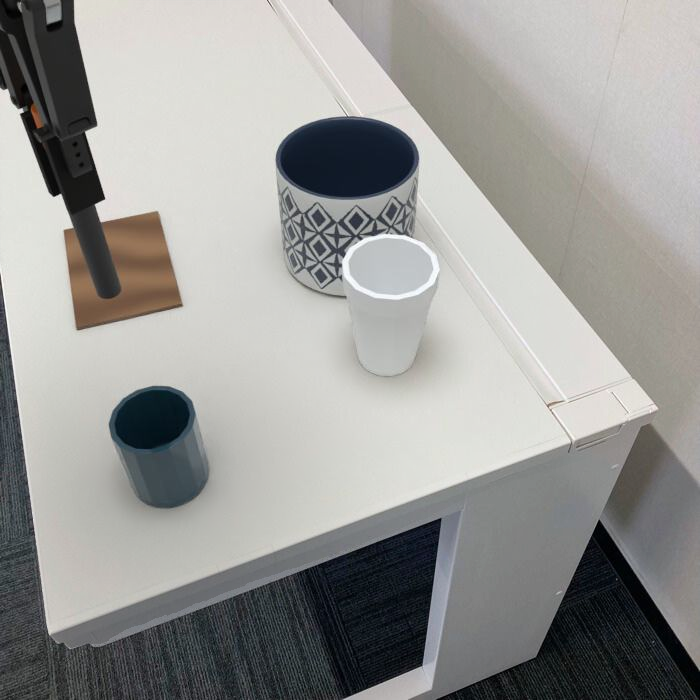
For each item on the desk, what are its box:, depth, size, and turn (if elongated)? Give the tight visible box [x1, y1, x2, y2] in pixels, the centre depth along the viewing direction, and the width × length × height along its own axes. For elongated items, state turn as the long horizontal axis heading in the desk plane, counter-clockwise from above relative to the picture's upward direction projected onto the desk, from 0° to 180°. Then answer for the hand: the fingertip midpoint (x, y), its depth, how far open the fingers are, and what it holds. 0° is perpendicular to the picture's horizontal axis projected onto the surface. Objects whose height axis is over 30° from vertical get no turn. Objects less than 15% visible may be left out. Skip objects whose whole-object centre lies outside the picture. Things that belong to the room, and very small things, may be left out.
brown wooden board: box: [63, 210, 184, 331], centre depth 94 cm, size 18×12×1 cm, turn 18°
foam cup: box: [342, 234, 441, 377], centre depth 79 cm, size 10×9×13 cm
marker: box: [31, 103, 122, 299], centre depth 57 cm, size 2×2×17 cm
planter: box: [274, 115, 420, 297], centre depth 90 cm, size 16×16×14 cm
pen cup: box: [108, 385, 210, 509], centre depth 71 cm, size 7×7×9 cm
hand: (76, 195), depth 56 cm, fingers closed on marker, 2 cm apart
